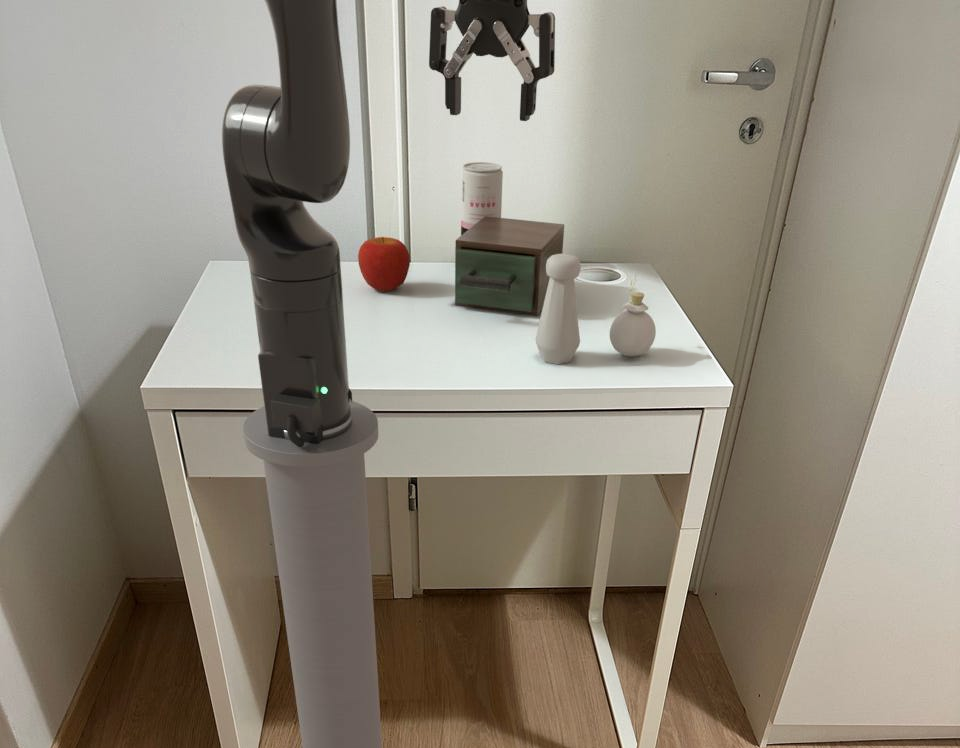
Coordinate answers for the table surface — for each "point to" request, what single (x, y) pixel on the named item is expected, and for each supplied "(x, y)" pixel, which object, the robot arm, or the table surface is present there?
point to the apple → (384, 263)
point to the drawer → (495, 279)
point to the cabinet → (517, 248)
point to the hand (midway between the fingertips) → (490, 117)
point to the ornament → (633, 327)
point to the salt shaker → (559, 311)
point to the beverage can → (480, 193)
